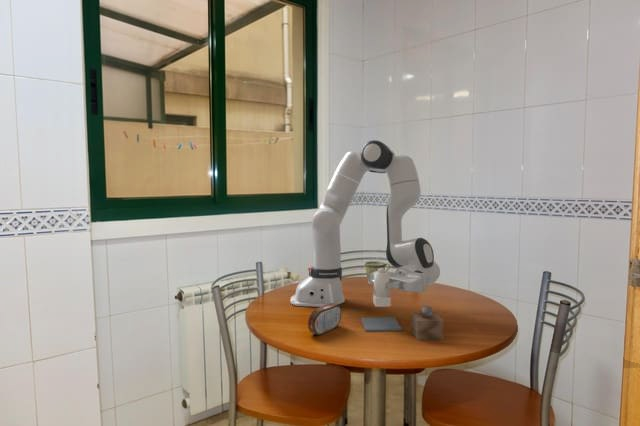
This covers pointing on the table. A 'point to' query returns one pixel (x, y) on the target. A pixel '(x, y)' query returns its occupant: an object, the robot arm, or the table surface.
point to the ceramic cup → (374, 267)
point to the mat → (381, 324)
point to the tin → (324, 319)
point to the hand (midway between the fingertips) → (379, 284)
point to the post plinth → (427, 325)
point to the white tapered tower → (381, 288)
